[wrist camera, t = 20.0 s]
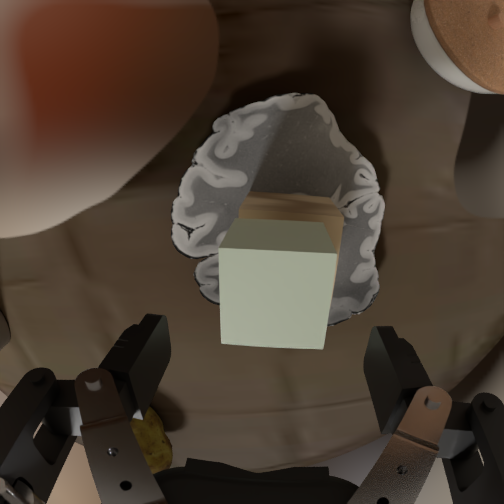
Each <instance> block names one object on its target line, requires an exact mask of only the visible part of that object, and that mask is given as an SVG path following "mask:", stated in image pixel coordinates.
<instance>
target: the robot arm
mask: <svg viewBox="0 0 504 504" xmlns="http://www.w3.org/2000/svg"><path fill="white" fill-rule="evenodd" d="M9 341H10V332H9V328H8V325H7V322H6V320H5V318H4V316H3V314H2V313H1V311H0V350H1V349H2V348H3V347H4V346H6V345H7V344H8V342H9ZM170 357H171V343H170V337H169V329H168V322H167V318H166V316H165V315H156V314H146V315H145V316H144V318H143V319H142V321H141V322H140V324H139V325H137V324H133V325H132V326H130V327H129V328H127V329H126V330H124V332H123V333H122V334H121V336H120V337H119V340H117V341H116V343H115V344H114V347H112V348H111V350H110V351H109V352H108V354H107V355H106V357H105V358H104V360H103V361H102V362H101V364H100V365H99V367H98V368H91V369H87V370H85V371H83V372H81V373H80V374H79V375H78V376H77V377H76V379H75V380H56V377H55V375H54V373H53V371H51V370H50V369H48V368H35V369H33V370H31V371H29V372H27V373H26V374H25V375H24V377H23V378H22V379H21V380H20V382H19V383H18V384H17V386H16V387H15V388H14V390H13V391H12V392H11V394H10V395H9V396H8V398H7V399H6V400H5V402H4V403H3V404H2V406H1V407H0V504H46V503H47V501H48V498H49V496H50V493H51V491H52V489H53V487H54V485H55V483H56V480H57V478H58V476H59V474H60V471H61V469H62V467H63V465H64V463H65V461H66V459H67V457H68V455H69V452H70V450H71V448H72V446H73V444H74V442H75V440H76V438H77V436H82V440H83V444H84V448H85V452H86V455H87V458H88V462H89V466H90V469H91V472H92V476H93V479H94V482H95V485H96V488H97V491H98V494H99V496H100V499H101V502H102V503H101V504H414V502H415V501H416V499H417V497H418V495H419V493H420V491H421V489H422V487H423V485H424V483H425V481H426V479H427V477H428V474H429V472H430V470H431V468H432V465H433V463H434V461H435V459H436V458H442V462H443V465H444V469H445V473H446V476H447V480H448V484H449V488H450V492H451V496H452V500H453V504H504V405H503V403H502V401H501V400H500V399H499V398H498V397H497V396H495V395H493V394H490V393H479V394H477V395H476V396H475V397H474V399H473V400H472V402H471V403H463V402H454V401H452V400H451V397H450V396H449V394H448V393H447V392H445V391H444V390H443V389H441V388H438V387H434V386H433V385H432V383H431V381H430V379H429V377H428V375H427V373H426V371H425V369H424V367H423V365H422V363H420V362H421V361H420V359H419V358H418V356H417V354H416V352H415V350H414V348H413V346H412V345H411V344H410V343H408V342H407V341H406V340H405V339H404V338H398V336H397V334H396V332H395V330H394V328H393V327H392V326H374V327H373V328H372V330H371V334H370V338H369V342H368V346H367V350H366V353H365V357H364V374H365V377H366V380H367V384H368V387H369V391H370V394H371V398H372V401H373V405H374V409H375V412H376V416H377V420H378V423H379V427H380V431H381V434H389V433H392V437H391V439H390V441H389V443H388V444H387V446H386V447H385V449H384V451H383V453H382V454H381V455H380V457H379V459H378V460H377V462H376V463H375V465H374V466H373V468H372V469H371V471H370V472H369V474H368V475H367V477H366V478H365V480H364V481H363V482H362V484H361V485H360V487H358V486H357V485H355V484H353V483H351V482H349V481H347V480H344V479H341V478H338V477H334V476H329V468H328V467H292V468H287V469H281V470H276V471H270V472H263V473H254V472H250V471H247V470H243V469H240V468H237V467H233V466H230V465H227V464H224V463H220V462H212V461H205V460H198V459H192V458H187V461H186V465H185V467H175V468H170V469H165V470H162V471H159V472H157V473H155V474H152V472H151V470H150V468H149V466H148V464H147V461H146V459H145V457H144V455H143V453H142V451H141V448H140V446H139V444H138V442H137V439H136V437H135V435H134V432H133V430H132V427H131V425H130V422H131V420H132V418H137V419H141V420H143V419H144V417H145V414H146V412H147V410H148V408H149V405H150V403H151V401H152V399H153V396H154V394H155V392H156V390H157V388H158V385H159V383H160V381H161V379H162V377H163V374H164V372H165V370H166V368H167V366H168V363H169V361H170ZM41 421H42V422H43V424H42V425H41V427H40V429H39V430H38V432H37V434H36V436H35V438H34V439H33V435H34V432H35V431H36V429H37V427H38V426H39V424H40V422H41ZM478 449H479V450H480V452H481V455H482V458H483V461H484V466H483V463H482V461H481V458H480V455H479V452H478Z"/></svg>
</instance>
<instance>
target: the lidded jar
mask: <svg viewBox="0 0 504 504" xmlns="http://www.w3.org/2000/svg"><path fill="white" fill-rule="evenodd" d="M410 21H411V30H412V35H413V38H414V41H415V43H416V45H417V48H418V49H419V51H420V53H421V55H422V56H423V58H424V59H425V60H426V62H427V63H428V64H429V65H430V66H431V68H432V69H433V70H434V71H435V72H436V73H438V74H439V75H440V76H441V77H442V78H444V79H445V80H446V81H448V82H450V83H452V84H453V85H455V86H457V87H459V88H462V89H464V90H468V91H472V92H476V93H483V94H504V0H414V1H413V4H412V7H411V13H410Z"/></svg>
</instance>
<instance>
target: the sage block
mask: <svg viewBox="0 0 504 504" xmlns="http://www.w3.org/2000/svg"><path fill="white" fill-rule="evenodd" d="M218 252H219V292H220V322H221V343H222V344H233V345H246V346H261V347H278V348H301V349H323V346H324V340H325V335H326V329H327V323H328V317H329V310H330V304H331V297H332V290H333V283H334V275H335V268H336V260H337V252H336V250H335V248H334V245H333V243H332V241H331V239H330V236H329V234H328V232H327V230H326V228H325V225H324V223H323V222H308V221H289V220H268V219H245V218H235V219H234V221H233V223H232V225H231V226H230V228H229V230H228V232H227V233H226V235H225V237H224V239H223V241H222V242H221V244H220V246H219V248H218Z"/></svg>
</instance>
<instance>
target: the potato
mask: <svg viewBox="0 0 504 504" xmlns="http://www.w3.org/2000/svg"><path fill="white" fill-rule="evenodd" d="M130 425H131V427H132V430H133V432H134V435H135V437H136V439H137V442H138V444H139V446H140V448H141V451H142V453H143V455H144V457H145V459H146V461H147V464H148V466H149V468H150V470H151V472H152V474H155V473H157V472H159V471H162V470H165V469H169V468H170V466H171V463H172V457H173V454H172V445H171V443H170V440H169V439H168V437H167V436H166V434H165V432H164V428H163V423H162V421H161V419H160V417H159V416H158V415H157V413H156V412H155V411H154V410H153V409H152V408H151V407H150V406H149V408H148V410H147V412H146V414H145V417H144V419H143V420H141V419H137V418H132V420H131V422H130Z"/></svg>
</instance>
